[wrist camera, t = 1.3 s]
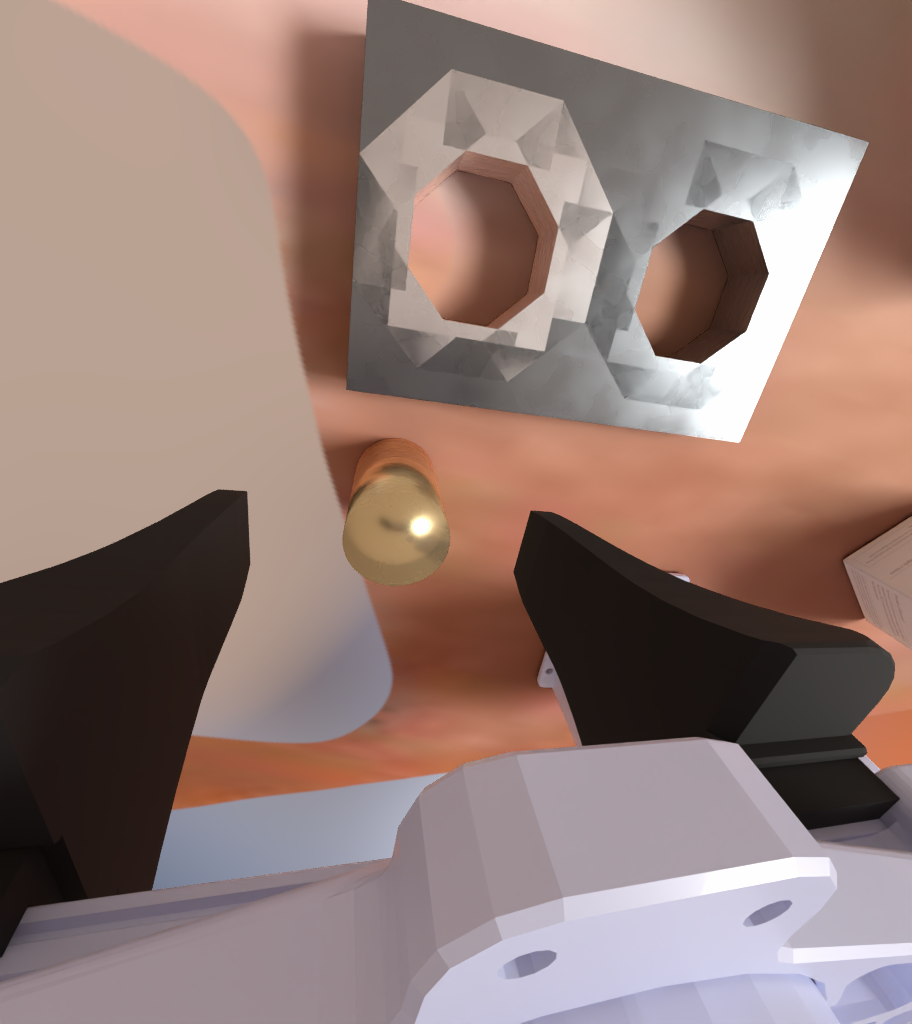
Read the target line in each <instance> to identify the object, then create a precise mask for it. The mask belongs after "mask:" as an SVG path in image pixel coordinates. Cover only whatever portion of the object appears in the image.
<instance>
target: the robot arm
mask: <svg viewBox="0 0 912 1024" xmlns="http://www.w3.org/2000/svg"><path fill="white" fill-rule="evenodd" d="M249 566H250V548H249V525H248V503H247V491H233V490H216V491H214V492H212V493H210V494H208V495H206V496H204V497H202V498H200V499H198V500H197V501H195V502H193V503H191V504H190V505H188V506H186V507H184V508H182V509H180V510H179V511H177V512H175V513H173V514H171V515H169V516H168V517H166V518H164V519H162V520H161V521H158V522H157V523H154V524H152V525H151V526H148V527H146V528H144V529H142V530H140V531H138V532H136V533H134V534H132V535H130V536H128V537H126V538H123V539H121V540H119V541H117V542H115V543H113V544H110V545H108V546H106V547H103V548H101V549H99V550H96V551H94V552H91V553H89V554H86V555H84V556H81V557H78V558H75V559H73V560H70V561H68V562H65V563H62V564H60V565H56V566H54V567H51V568H47V569H44V570H41V571H38V572H35V573H32V574H28V575H25V576H22V577H19V578H15V579H13V580H9V581H6V582H3V583H0V1024H912V764H905V765H896V766H890V767H887V768H884V769H882V770H880V769H879V768H878V767H877V766H876V765H875V764H874V763H873V762H872V761H871V760H870V759H869V758H868V757H867V756H866V754H867V750H866V747H865V746H864V745H863V744H862V743H861V742H859V741H858V740H857V739H856V738H855V737H854V736H853V735H852V734H851V733H852V732H853V731H854V730H855V729H856V727H857V726H858V725H859V724H860V723H861V722H862V721H863V720H864V718H865V717H866V716H867V715H868V714H869V713H870V712H871V710H872V709H873V708H874V707H875V706H876V705H877V704H878V702H879V701H880V700H881V699H882V697H883V696H884V695H885V693H886V692H887V691H888V689H889V687H890V685H891V683H892V681H893V678H894V672H895V662H894V660H893V658H892V656H891V654H890V653H889V652H887V651H886V650H885V649H883V648H882V647H880V646H879V645H878V644H876V643H875V642H874V641H872V640H871V639H870V638H868V637H867V636H865V635H863V634H861V633H858V632H856V631H853V630H850V629H846V628H842V627H837V626H833V625H828V624H824V623H820V622H815V621H811V620H807V619H802V618H798V617H794V616H790V615H786V614H783V613H779V612H776V611H772V610H769V609H765V608H762V607H758V606H755V605H751V604H748V603H745V602H742V601H739V600H736V599H733V598H730V597H727V596H724V595H721V594H719V593H716V592H713V591H710V590H708V589H705V588H702V587H700V586H697V585H695V584H692V583H689V582H690V580H689V578H688V577H687V576H686V575H685V574H680V573H666V572H664V571H662V570H660V569H658V568H656V567H654V566H651V565H649V564H647V563H646V562H644V561H642V560H640V559H638V558H636V557H634V556H632V555H630V554H628V553H626V552H625V551H623V550H621V549H619V548H617V547H615V546H614V545H612V544H610V543H608V542H607V541H605V540H603V539H601V538H600V537H598V536H596V535H594V534H593V533H591V532H589V531H588V530H586V529H584V528H582V527H581V526H579V525H577V524H575V523H573V522H572V521H570V520H568V519H566V518H564V517H562V516H560V515H557V514H555V513H552V512H543V511H531V512H530V515H529V519H528V522H527V526H526V530H525V533H524V537H523V540H522V544H521V547H520V551H519V554H518V558H517V561H516V565H515V568H514V575H515V579H516V582H517V586H518V589H519V592H520V595H521V598H522V602H523V604H524V606H525V608H526V610H527V613H528V615H529V617H530V619H531V621H532V623H533V625H534V627H535V629H536V631H537V633H538V635H539V638H540V640H541V642H542V644H543V646H544V648H545V650H546V652H545V655H544V658H543V662H542V665H541V668H540V671H539V675H538V678H537V682H538V684H539V686H540V687H544V688H553V691H554V693H555V695H556V698H557V700H558V703H559V705H560V707H561V710H562V712H563V714H564V717H565V719H566V721H567V724H568V726H569V729H570V731H571V733H572V736H573V738H574V740H575V743H576V745H577V747H565V748H553V749H541V750H528V751H516V752H508V753H504V754H500V755H496V756H492V757H488V758H484V759H480V760H476V761H472V762H468V763H464V764H462V765H461V766H459V767H457V768H456V769H454V770H453V771H451V772H449V773H448V774H446V775H445V776H443V777H441V778H440V779H438V780H436V781H435V782H433V783H432V784H430V785H428V786H427V787H426V788H424V790H423V791H422V792H421V794H420V795H419V796H418V797H417V799H416V801H415V802H414V804H413V805H412V807H411V808H410V810H409V811H408V813H407V814H406V816H405V818H404V819H403V821H402V822H401V824H400V825H399V827H398V831H397V836H396V841H395V846H394V851H393V856H392V858H387V859H379V860H372V861H365V862H357V863H350V864H343V865H335V866H328V867H321V868H313V869H306V870H299V871H291V872H284V873H278V874H269V875H263V876H255V877H247V878H240V879H232V880H225V881H218V882H210V883H203V884H197V885H188V886H181V887H174V888H166V889H159V890H152V888H153V884H154V879H155V875H156V871H157V866H158V861H159V858H160V853H161V849H162V845H163V841H164V837H165V833H166V829H167V825H168V821H169V817H170V813H171V809H172V805H173V801H174V797H175V793H176V790H177V786H178V782H179V778H180V775H181V771H182V767H183V764H184V760H185V756H186V752H187V749H188V745H189V741H190V738H191V734H192V730H193V727H194V724H195V720H196V717H197V713H198V710H199V706H200V703H201V699H202V696H203V693H204V690H205V688H206V685H207V682H208V680H209V677H210V675H211V672H212V669H213V667H214V665H215V663H216V660H217V658H218V655H219V653H220V651H221V648H222V646H223V643H224V641H225V638H226V636H227V634H228V631H229V629H230V626H231V624H232V621H233V619H234V617H235V614H236V611H237V609H238V606H239V604H240V601H241V599H242V595H243V592H244V588H245V584H246V580H247V575H248V571H249ZM547 669H549V670H547Z"/></svg>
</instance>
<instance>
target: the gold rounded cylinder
mask: <svg viewBox="0 0 912 1024" xmlns="http://www.w3.org/2000/svg"><path fill="white" fill-rule="evenodd" d="M449 546H450V531H449V527H448V523H447V519H446V515H445V511H444V507H443V504H442V500H441V496H440V492H439V488H438V485H437V481H436V477H435V473H434V469H433V466H432V463H431V460H430V458H429V457H428V455H427V454H426V452H425V451H424V450H423V449H422V448H420V447H419V446H418V445H416V444H415V443H413V442H411V441H408V440H405V439H399V438H390V439H384V440H381V441H378V442H376V443H374V444H373V445H371V446H370V447H369V448H367V449H366V450H365V451H364V453H363V454H362V455H361V457H360V459H359V461H358V464H357V467H356V472H355V477H354V482H353V487H352V492H351V497H350V502H349V506H348V511H347V516H346V521H345V526H344V531H343V548H344V552H345V555H346V557H347V559H348V561H349V563H350V564H351V566H352V567H353V568H354V569H355V570H356V571H357V572H358V573H359V574H361V575H362V576H363V577H365V578H367V579H369V580H371V581H373V582H376V583H379V584H383V585H389V586H402V585H408V584H412V583H415V582H418V581H420V580H423V579H425V578H426V577H428V576H429V575H431V574H432V573H433V572H435V571H436V570H437V569H438V568H439V566H440V565H441V564H442V562H443V561H444V559H445V557H446V555H447V553H448V550H449Z"/></svg>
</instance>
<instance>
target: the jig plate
mask: <svg viewBox="0 0 912 1024" xmlns="http://www.w3.org/2000/svg"><path fill="white" fill-rule="evenodd" d="M868 144H869V142H867V141H864V140H860V139H857V138H854V137H850V136H847V135H844V134H840V133H837V132H834V131H831V130H827V129H824V128H821V127H817V126H814V125H811V124H807V123H804V122H801V121H798V120H794V119H791V118H788V117H784V116H781V115H778V114H774V113H771V112H768V111H765V110H761V109H758V108H755V107H751V106H748V105H745V104H741V103H738V102H735V101H732V100H728V99H725V98H722V97H718V96H715V95H712V94H708V93H705V92H702V91H699V90H695V89H692V88H689V87H685V86H682V85H679V84H676V83H672V82H669V81H666V80H662V79H659V78H656V77H652V76H649V75H646V74H643V73H639V72H636V71H633V70H629V69H626V68H623V67H619V66H616V65H613V64H610V63H606V62H603V61H600V60H596V59H593V58H590V57H586V56H583V55H580V54H577V53H573V52H570V51H567V50H563V49H560V48H557V47H553V46H550V45H547V44H544V43H540V42H537V41H534V40H530V39H527V38H524V37H520V36H517V35H514V34H511V33H507V32H504V31H501V30H497V29H494V28H491V27H487V26H484V25H481V24H478V23H474V22H471V21H468V20H464V19H461V18H458V17H454V16H451V15H448V14H445V13H441V12H438V11H435V10H431V9H428V8H425V7H421V6H418V5H415V4H412V3H408V2H405V1H402V0H368V8H367V26H366V44H365V62H364V80H363V98H362V116H361V134H360V152H359V170H358V188H357V206H356V224H355V242H354V260H353V278H352V296H351V314H350V332H349V351H348V369H347V387H346V390H352V391H359V392H366V393H374V394H381V395H389V396H396V397H404V398H411V399H419V400H426V401H433V402H441V403H448V404H456V405H463V406H471V407H478V408H485V409H493V410H500V411H508V412H515V413H523V414H530V415H538V416H545V417H552V418H560V419H567V420H575V421H582V422H590V423H597V424H604V425H612V426H619V427H627V428H634V429H642V430H649V431H657V432H664V433H671V434H679V435H686V436H694V437H701V438H709V439H716V440H724V441H731V442H738V443H740V441H741V438H742V436H743V434H744V431H745V429H746V427H747V424H748V422H749V420H750V418H751V415H752V413H753V411H754V408H755V406H756V404H757V401H758V399H759V397H760V394H761V392H762V390H763V387H764V385H765V383H766V380H767V378H768V376H769V373H770V371H771V369H772V367H773V364H774V362H775V360H776V357H777V355H778V353H779V350H780V348H781V346H782V343H783V341H784V339H785V336H786V334H787V332H788V329H789V327H790V325H791V322H792V320H793V318H794V316H795V313H796V311H797V309H798V306H799V304H800V302H801V299H802V297H803V295H804V292H805V290H806V288H807V285H808V283H809V281H810V278H811V276H812V274H813V271H814V269H815V267H816V265H817V262H818V260H819V258H820V255H821V253H822V251H823V248H824V246H825V244H826V241H827V239H828V237H829V234H830V232H831V230H832V227H833V225H834V223H835V220H836V218H837V216H838V214H839V211H840V209H841V207H842V204H843V202H844V200H845V197H846V195H847V193H848V190H849V188H850V186H851V183H852V181H853V179H854V176H855V174H856V172H857V169H858V167H859V165H860V163H861V160H862V158H863V156H864V153H865V151H866V149H867V146H868ZM456 170H460V171H464V172H468V173H472V174H477V175H481V176H485V177H489V178H494V179H498V180H502V181H506V182H511V184H512V186H513V188H514V189H515V191H516V193H517V195H518V197H519V199H520V201H521V203H522V205H523V207H524V209H525V210H526V212H527V214H528V216H529V218H530V220H531V222H532V224H533V226H534V228H535V230H536V231H537V233H538V235H539V238H538V243H537V248H536V253H535V257H534V262H533V267H532V272H531V277H530V282H529V287H528V292H527V295H525V296H524V297H523V298H521V299H520V300H519V301H518V302H516V303H515V304H514V305H513V306H511V307H510V308H509V309H508V310H506V311H505V312H504V313H502V314H501V315H500V316H499V317H497V318H496V319H495V320H494V321H492V322H491V323H490V324H489V325H487V326H481V325H476V324H470V323H464V322H458V321H452V320H446V319H442V317H441V316H440V314H439V313H438V311H437V310H436V308H435V307H434V305H433V304H432V302H431V301H430V299H429V298H428V296H427V295H426V293H425V292H424V290H423V289H422V287H421V286H420V284H419V283H418V281H417V280H416V278H415V277H414V275H413V274H412V273H411V271H410V270H409V268H408V259H409V249H410V239H411V229H412V219H413V209H414V206H415V205H416V204H418V203H419V202H420V201H421V200H422V199H423V198H424V197H426V196H427V195H428V194H429V193H430V192H431V191H433V190H434V189H435V188H436V187H437V186H438V185H439V184H441V183H442V182H443V181H444V180H445V179H446V178H448V177H449V176H450V175H451V174H452V173H453V172H454V171H456ZM683 224H688V225H692V226H696V227H701V228H705V229H709V230H712V231H713V234H714V236H715V239H716V242H717V245H718V248H719V251H720V254H721V256H722V259H723V262H724V265H725V268H726V271H727V274H728V276H729V277H728V280H727V283H726V285H725V288H724V291H723V294H722V296H721V299H720V302H719V305H718V307H717V310H716V313H715V316H714V318H713V321H712V324H711V327H710V329H708V330H707V331H706V332H704V333H703V334H701V335H700V336H699V337H697V338H696V339H695V340H693V341H692V342H690V343H689V344H688V345H686V346H685V347H683V348H682V349H681V350H679V351H678V352H676V353H675V354H674V355H672V356H671V357H663V356H657V355H655V354H654V351H653V349H652V347H651V345H650V343H649V341H648V338H647V336H646V334H645V332H644V330H643V328H642V325H641V323H640V321H639V319H638V317H637V315H636V313H635V306H636V303H637V299H638V296H639V293H640V289H641V286H642V282H643V279H644V276H645V272H646V269H647V265H648V262H649V259H650V255H651V252H652V248H653V247H654V246H656V245H657V244H658V243H660V242H661V241H662V240H664V239H665V238H666V237H667V236H669V235H670V234H671V233H673V232H674V231H675V230H677V229H678V228H679V227H680V226H682V225H683Z"/></svg>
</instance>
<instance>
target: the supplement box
mask: <svg viewBox="0 0 912 1024" xmlns="http://www.w3.org/2000/svg"><path fill="white" fill-rule="evenodd" d="M843 562H844V565H845V568H846V571H847V573H848V576H849V578H850V581H851V584H852V586H853V589H854V592H855V594H856V597H857V599H858V602H859V605H860V607H861V609H862V612H863V614H864V616H865V618H866V620H867V621H868V622H869V623H871V624H872V625H874V626H875V627H877V628H879V629H880V630H882V631H883V632H885V633H886V634H888V635H890V636H891V637H893V638H894V639H896V640H897V641H899V642H900V643H902V644H903V645H905V646H906V647H908V648H909V649H911V650H912V516H911V517H909V518H908V519H906V520H905V521H903V522H902V523H900V524H898V525H897V526H895V527H894V528H892V529H891V530H889V531H887V532H886V533H884V534H883V535H881V536H880V537H878V538H876V539H875V540H873V541H872V542H870V543H869V544H867V545H865V546H864V547H862V548H861V549H859V550H857V551H856V552H854V553H853V554H851V555H850V556H848V557H847V558H845V559H844V560H843Z"/></svg>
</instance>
